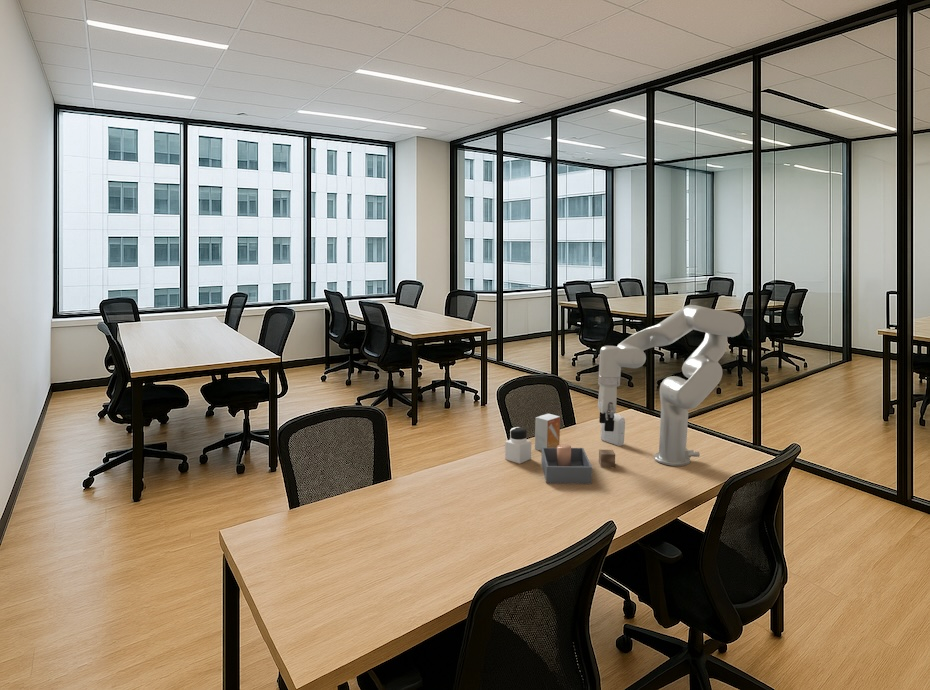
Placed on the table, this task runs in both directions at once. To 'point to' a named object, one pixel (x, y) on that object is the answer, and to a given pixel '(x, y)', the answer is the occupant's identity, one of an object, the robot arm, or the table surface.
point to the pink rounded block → (563, 455)
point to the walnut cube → (606, 458)
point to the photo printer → (618, 433)
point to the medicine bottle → (518, 446)
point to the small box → (547, 431)
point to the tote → (566, 467)
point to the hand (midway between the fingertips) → (606, 426)
